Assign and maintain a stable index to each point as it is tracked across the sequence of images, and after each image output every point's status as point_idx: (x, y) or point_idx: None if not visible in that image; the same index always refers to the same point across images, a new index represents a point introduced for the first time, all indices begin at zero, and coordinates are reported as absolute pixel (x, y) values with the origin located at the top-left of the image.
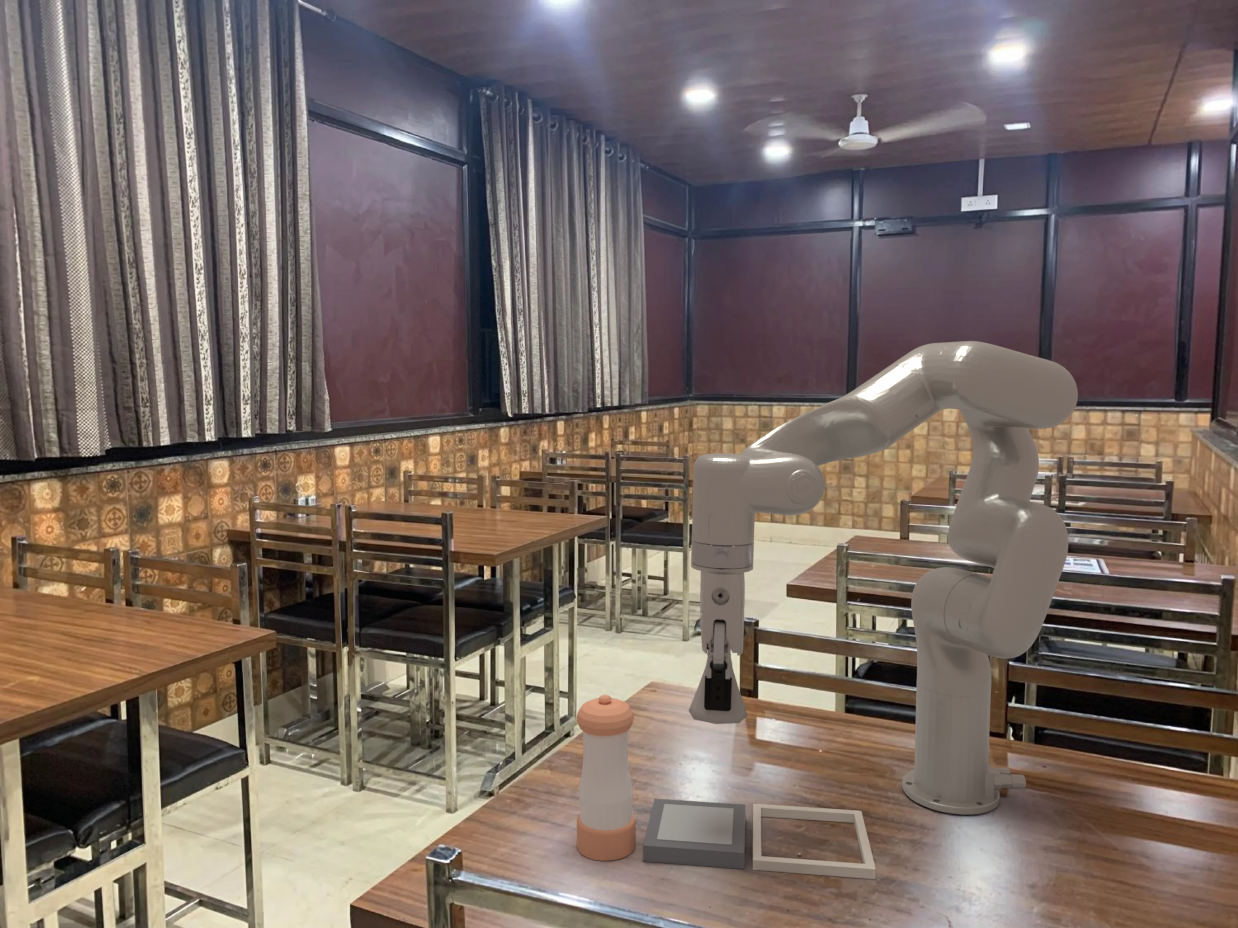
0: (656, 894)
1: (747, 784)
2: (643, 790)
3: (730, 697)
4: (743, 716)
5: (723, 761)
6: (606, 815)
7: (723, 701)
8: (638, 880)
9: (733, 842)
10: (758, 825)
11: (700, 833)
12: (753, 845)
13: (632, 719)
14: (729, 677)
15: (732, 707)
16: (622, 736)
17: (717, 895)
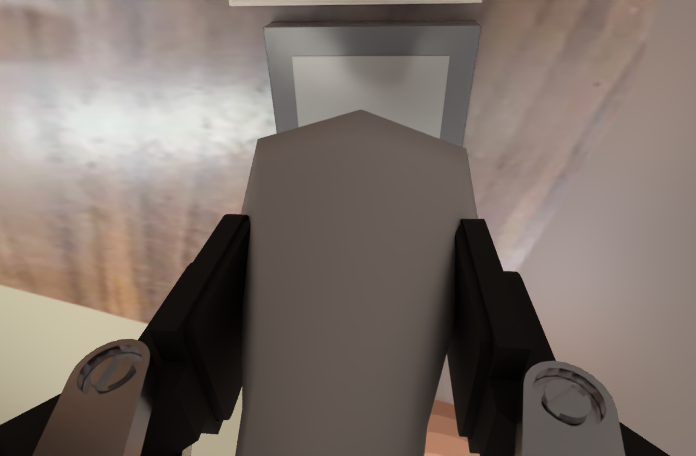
0: (545, 171)
1: (111, 20)
2: (220, 216)
3: (496, 260)
4: (402, 131)
5: (31, 80)
6: None
7: (522, 282)
8: (503, 199)
9: (437, 51)
10: None
11: (408, 122)
12: (420, 2)
13: (433, 418)
14: (607, 391)
15: (457, 211)
16: (445, 395)
17: (562, 72)
